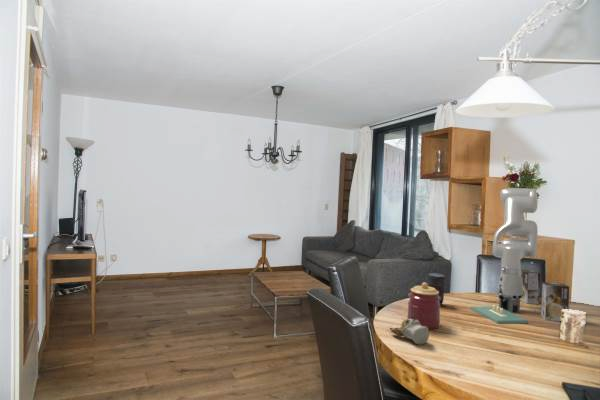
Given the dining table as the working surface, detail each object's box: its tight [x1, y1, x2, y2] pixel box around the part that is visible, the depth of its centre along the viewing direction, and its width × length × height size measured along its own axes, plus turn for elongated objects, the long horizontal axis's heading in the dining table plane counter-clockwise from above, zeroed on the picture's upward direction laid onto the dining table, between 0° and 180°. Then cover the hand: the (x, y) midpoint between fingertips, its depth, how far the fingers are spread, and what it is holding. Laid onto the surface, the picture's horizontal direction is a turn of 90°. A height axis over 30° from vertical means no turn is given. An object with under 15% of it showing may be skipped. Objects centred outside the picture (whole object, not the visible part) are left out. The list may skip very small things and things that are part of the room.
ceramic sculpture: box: [389, 317, 430, 346], centre depth 142 cm, size 11×9×15 cm
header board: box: [470, 304, 528, 324], centre depth 175 cm, size 20×14×4 cm
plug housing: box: [498, 296, 521, 314], centre depth 185 cm, size 9×4×6 cm, turn 7°
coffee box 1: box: [519, 269, 541, 305], centre depth 202 cm, size 9×6×16 cm
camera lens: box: [426, 272, 446, 307], centre depth 189 cm, size 8×8×15 cm
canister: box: [406, 281, 442, 330], centre depth 159 cm, size 13×13×18 cm
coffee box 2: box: [540, 281, 570, 322], centre depth 173 cm, size 9×6×16 cm
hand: (509, 308), depth 185 cm, fingers open, 5 cm apart
